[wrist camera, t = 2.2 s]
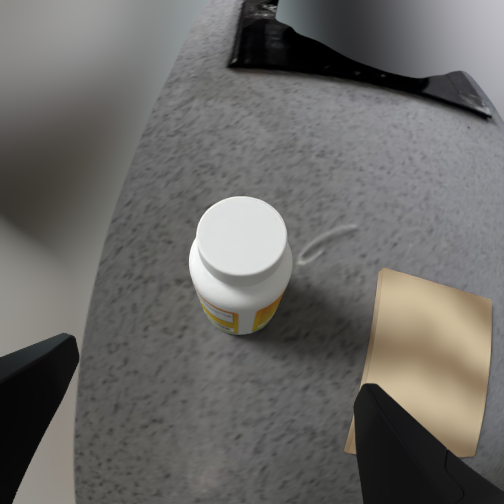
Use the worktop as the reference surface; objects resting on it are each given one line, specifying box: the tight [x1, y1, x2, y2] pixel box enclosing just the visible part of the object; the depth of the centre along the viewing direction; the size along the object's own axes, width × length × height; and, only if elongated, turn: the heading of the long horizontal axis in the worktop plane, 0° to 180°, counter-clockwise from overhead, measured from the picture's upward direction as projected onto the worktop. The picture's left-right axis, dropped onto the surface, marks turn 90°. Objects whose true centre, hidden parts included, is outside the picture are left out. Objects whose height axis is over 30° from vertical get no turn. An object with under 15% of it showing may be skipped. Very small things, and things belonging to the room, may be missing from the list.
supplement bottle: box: [189, 196, 293, 335], centre depth 18 cm, size 5×5×10 cm
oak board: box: [344, 268, 492, 457], centre depth 20 cm, size 14×12×1 cm
